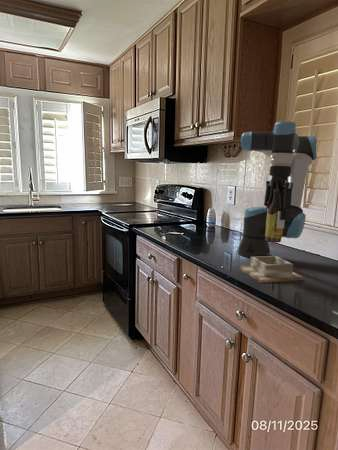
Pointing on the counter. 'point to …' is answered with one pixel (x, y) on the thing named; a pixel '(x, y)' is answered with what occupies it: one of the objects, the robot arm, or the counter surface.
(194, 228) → the counter surface
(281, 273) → the caddy board
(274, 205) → the sauce bottle
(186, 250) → the counter surface
